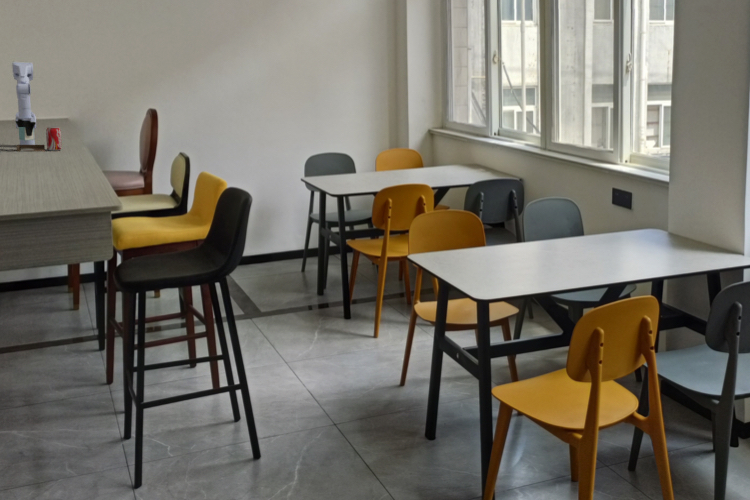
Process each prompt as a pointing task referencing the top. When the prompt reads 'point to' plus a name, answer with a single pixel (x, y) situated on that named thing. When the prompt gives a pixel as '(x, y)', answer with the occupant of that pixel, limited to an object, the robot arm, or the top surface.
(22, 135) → the block
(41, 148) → the tray
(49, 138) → the soda can
